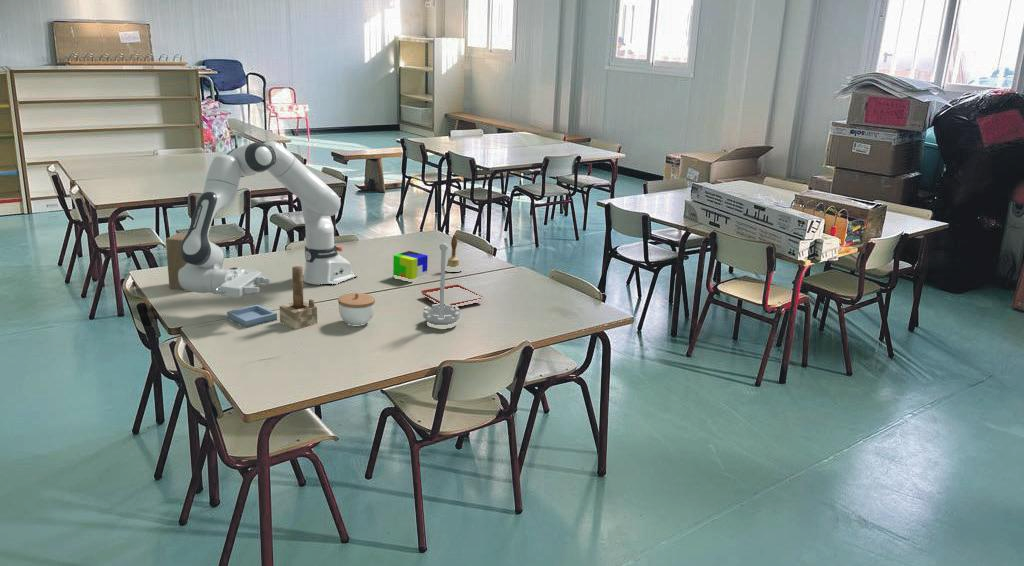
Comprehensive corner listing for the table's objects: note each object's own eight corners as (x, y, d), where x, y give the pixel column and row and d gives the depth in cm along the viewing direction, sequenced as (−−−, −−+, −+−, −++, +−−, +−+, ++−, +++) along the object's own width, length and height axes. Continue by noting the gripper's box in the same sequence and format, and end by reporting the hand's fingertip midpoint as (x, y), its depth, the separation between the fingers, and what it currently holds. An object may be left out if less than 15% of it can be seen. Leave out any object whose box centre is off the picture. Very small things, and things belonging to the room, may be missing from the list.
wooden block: (206, 284, 308) (203, 234, 302) (194, 291, 299) (190, 240, 293) (182, 281, 309) (178, 232, 303) (168, 289, 300) (165, 238, 294)
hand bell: (445, 267, 350) (446, 232, 345) (464, 268, 349) (465, 233, 344) (441, 272, 342) (442, 236, 337) (460, 274, 341) (461, 238, 336)
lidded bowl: (337, 329, 271) (337, 299, 268) (339, 316, 283) (339, 287, 280) (374, 329, 273) (374, 299, 270) (375, 316, 285) (375, 287, 282)
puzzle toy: (427, 278, 333) (427, 255, 330) (411, 283, 325) (412, 260, 322) (408, 273, 338) (409, 250, 335) (393, 278, 330) (393, 255, 327)
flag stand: (459, 331, 277) (463, 248, 268) (422, 330, 275) (424, 247, 266) (459, 318, 289) (462, 238, 280) (423, 317, 288) (425, 237, 279)
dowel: (299, 314, 277) (298, 265, 271) (305, 317, 275) (304, 268, 269) (291, 317, 274) (290, 267, 269) (297, 319, 272) (296, 269, 267)
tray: (257, 311, 284) (257, 304, 283) (277, 319, 276) (276, 313, 276) (227, 318, 275) (227, 311, 274) (246, 327, 267) (246, 321, 267)
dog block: (301, 316, 281) (301, 293, 278) (317, 323, 276) (316, 300, 273) (280, 322, 274) (279, 299, 272) (295, 329, 269) (294, 305, 266)
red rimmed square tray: (484, 304, 306) (484, 296, 305) (445, 312, 295) (445, 304, 294) (457, 291, 319) (457, 284, 318) (419, 298, 308) (419, 290, 307)
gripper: (211, 282, 262) (251, 286, 261) (237, 265, 282) (275, 268, 281) (212, 300, 264) (252, 304, 263) (238, 282, 284) (275, 285, 283)
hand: (264, 285), depth 272 cm, fingers open, 8 cm apart
